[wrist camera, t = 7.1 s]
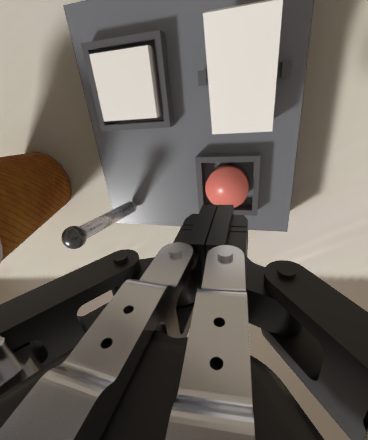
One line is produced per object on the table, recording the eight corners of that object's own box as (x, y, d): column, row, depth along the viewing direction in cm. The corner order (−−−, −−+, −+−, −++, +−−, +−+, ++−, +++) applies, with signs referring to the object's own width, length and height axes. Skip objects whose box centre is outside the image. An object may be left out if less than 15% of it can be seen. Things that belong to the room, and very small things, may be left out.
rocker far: (208, 10, 13) (202, 13, 12) (281, -3, 12) (283, -2, 11) (215, 124, 17) (212, 134, 16) (271, 121, 16) (272, 131, 15)
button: (207, 164, 18) (204, 169, 17) (249, 163, 18) (248, 168, 17) (209, 201, 20) (206, 208, 19) (248, 202, 19) (247, 209, 18)
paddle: (99, 55, 17) (89, 54, 16) (154, 47, 16) (147, 45, 15) (112, 119, 19) (103, 121, 18) (162, 115, 18) (156, 117, 17)
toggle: (126, 195, 22) (53, 230, 17) (139, 197, 21) (67, 235, 16) (130, 211, 23) (61, 249, 18) (143, 214, 22) (74, 255, 17)
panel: (89, 15, 19) (47, -1, 15) (309, -29, 15) (326, -67, 11) (129, 209, 26) (108, 230, 22) (284, 214, 22) (288, 241, 18)
